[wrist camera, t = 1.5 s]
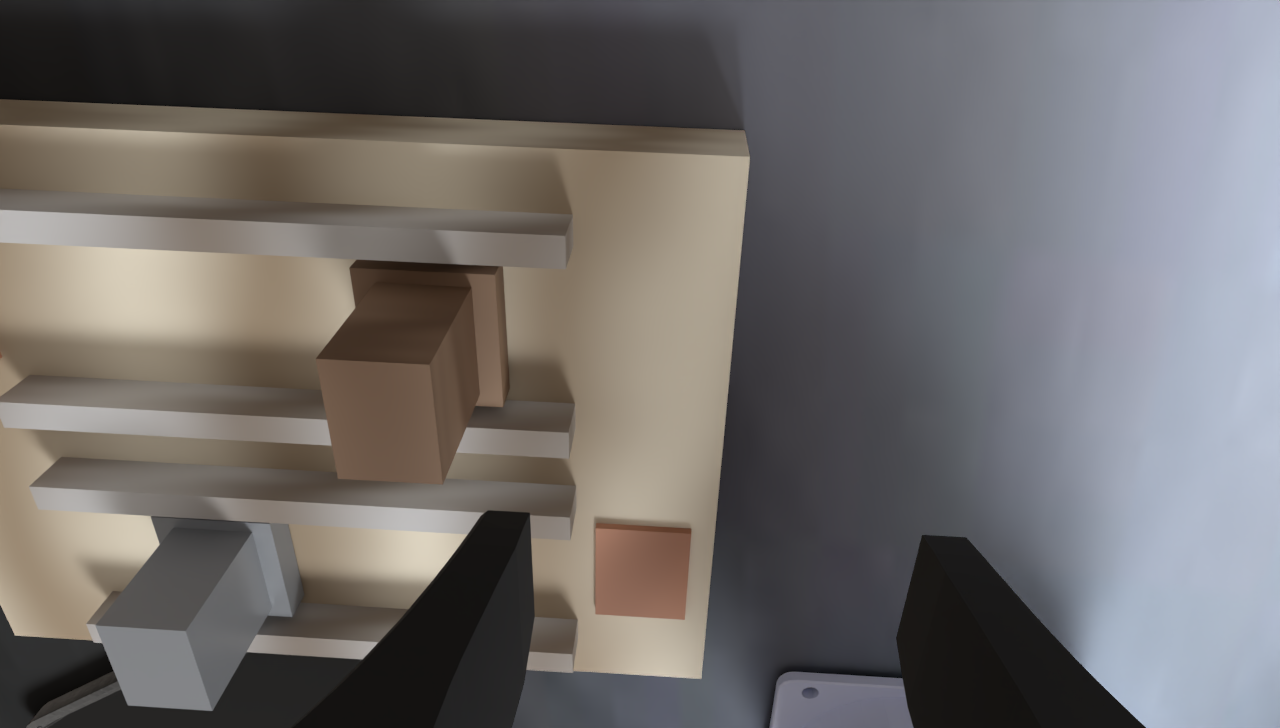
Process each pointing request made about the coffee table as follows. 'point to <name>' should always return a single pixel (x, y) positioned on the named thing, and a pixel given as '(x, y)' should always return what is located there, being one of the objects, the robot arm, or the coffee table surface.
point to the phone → (244, 715)
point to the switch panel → (311, 315)
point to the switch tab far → (198, 609)
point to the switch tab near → (413, 367)
